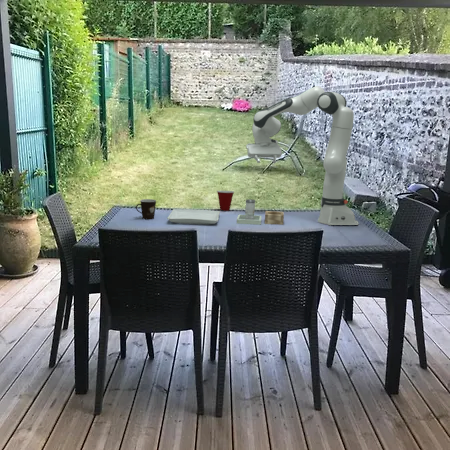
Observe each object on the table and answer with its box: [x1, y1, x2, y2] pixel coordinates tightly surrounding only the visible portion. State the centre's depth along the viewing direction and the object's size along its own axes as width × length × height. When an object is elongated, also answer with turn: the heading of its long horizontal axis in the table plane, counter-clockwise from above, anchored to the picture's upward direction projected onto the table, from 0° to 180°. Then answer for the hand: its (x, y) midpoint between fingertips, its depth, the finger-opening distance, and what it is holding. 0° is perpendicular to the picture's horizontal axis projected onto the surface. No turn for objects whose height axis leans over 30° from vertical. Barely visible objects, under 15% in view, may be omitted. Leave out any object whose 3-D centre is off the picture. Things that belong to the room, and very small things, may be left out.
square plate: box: [166, 208, 221, 225], centre depth 282 cm, size 27×27×4 cm
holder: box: [264, 210, 285, 226], centre depth 278 cm, size 10×10×6 cm
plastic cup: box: [216, 190, 235, 212], centre depth 311 cm, size 11×11×12 cm
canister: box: [244, 198, 256, 220], centre depth 277 cm, size 5×5×12 cm
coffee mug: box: [135, 198, 157, 221], centre depth 281 cm, size 12×9×10 cm
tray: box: [236, 214, 263, 225], centre depth 278 cm, size 13×13×3 cm
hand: (266, 162), depth 293 cm, fingers open, 8 cm apart
